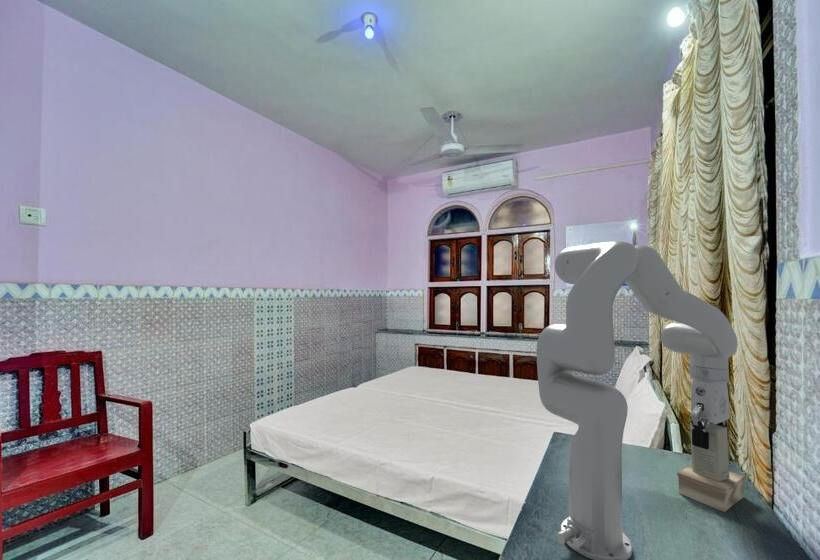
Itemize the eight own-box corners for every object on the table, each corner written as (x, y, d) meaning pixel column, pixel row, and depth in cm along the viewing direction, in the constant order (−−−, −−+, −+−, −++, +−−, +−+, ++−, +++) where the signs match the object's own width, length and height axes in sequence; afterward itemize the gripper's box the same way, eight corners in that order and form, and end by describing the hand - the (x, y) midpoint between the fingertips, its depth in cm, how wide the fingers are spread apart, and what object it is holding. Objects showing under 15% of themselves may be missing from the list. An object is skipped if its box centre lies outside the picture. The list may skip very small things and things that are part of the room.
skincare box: (730, 479, 88) (729, 428, 88) (719, 482, 86) (718, 430, 86) (700, 467, 93) (700, 419, 94) (690, 470, 92) (689, 421, 92)
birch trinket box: (725, 512, 82) (724, 490, 82) (677, 493, 90) (677, 472, 90) (745, 497, 89) (744, 476, 89) (698, 480, 97) (698, 460, 97)
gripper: (713, 380, 83) (713, 456, 82) (741, 373, 92) (741, 442, 91) (675, 373, 89) (675, 444, 88) (704, 368, 98) (705, 432, 97)
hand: (708, 443), depth 90 cm, fingers open, 9 cm apart
